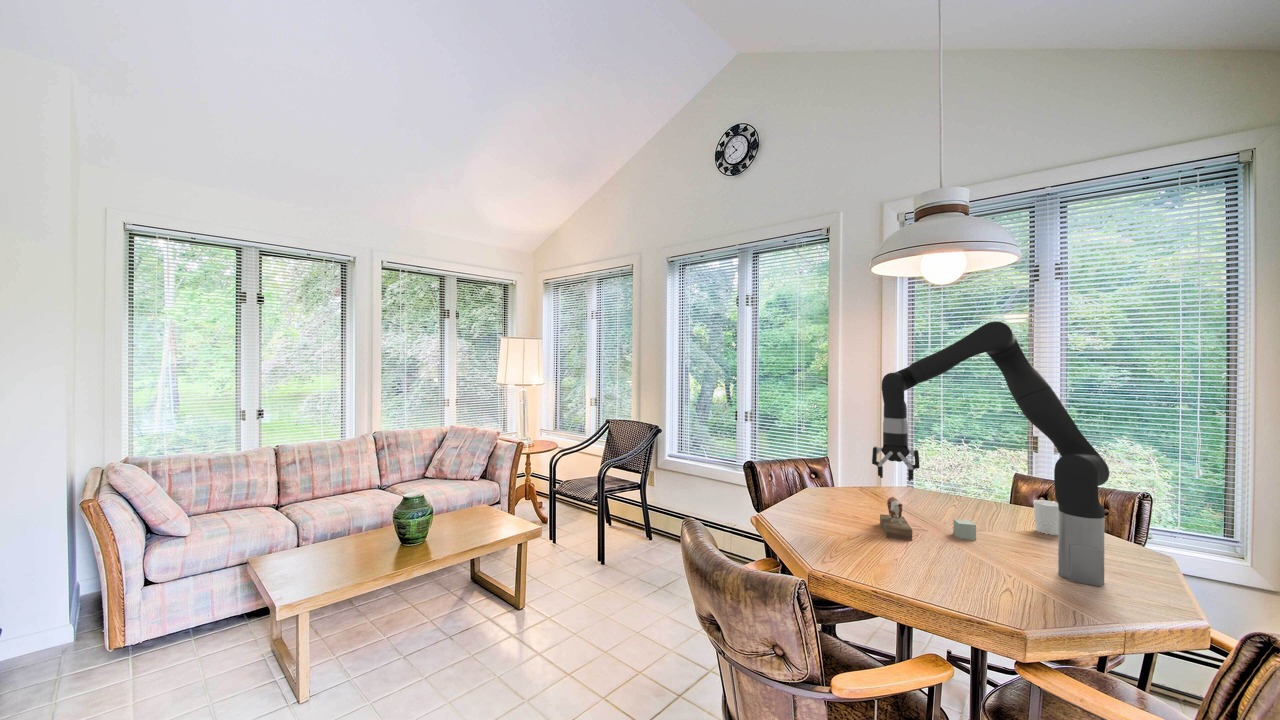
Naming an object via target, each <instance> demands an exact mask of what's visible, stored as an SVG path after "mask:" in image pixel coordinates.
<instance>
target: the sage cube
mask: <svg viewBox="0 0 1280 720" xmlns="http://www.w3.org/2000/svg"><path fill="white" fill-rule="evenodd" d="M952 521H953V526H952V527H953V531H952V532H953V535H954V536H955V537H956V538H957V539H958V540H959V539H961V540H971V541H977V524H976V523H974V522H973V521H972V520H969V519H960V518H959V519H955V518H954V519H953V520H952Z"/></svg>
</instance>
